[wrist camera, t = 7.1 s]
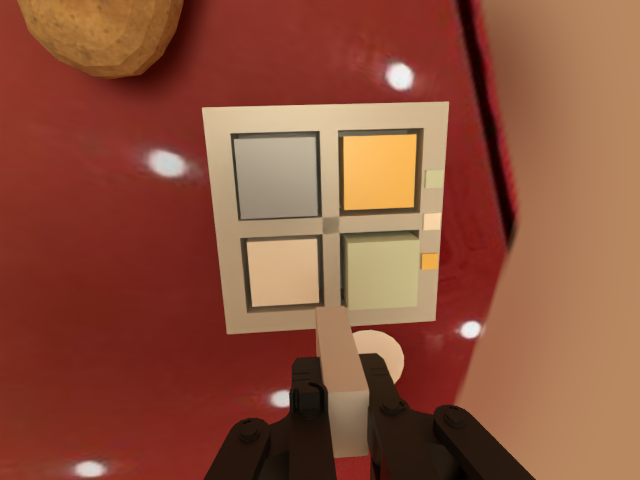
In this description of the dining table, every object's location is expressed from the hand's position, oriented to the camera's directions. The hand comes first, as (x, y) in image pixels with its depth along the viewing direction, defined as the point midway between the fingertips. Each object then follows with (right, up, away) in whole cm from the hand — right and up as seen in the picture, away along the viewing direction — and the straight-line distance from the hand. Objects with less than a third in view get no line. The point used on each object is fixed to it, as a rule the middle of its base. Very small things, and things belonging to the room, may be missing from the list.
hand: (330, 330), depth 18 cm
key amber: (+3, +10, +9) cm, 14 cm away
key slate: (-3, +9, +7) cm, 12 cm away
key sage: (+4, +3, +9) cm, 10 cm away
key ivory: (-3, +3, +10) cm, 11 cm away
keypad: (0, +7, +12) cm, 14 cm away
